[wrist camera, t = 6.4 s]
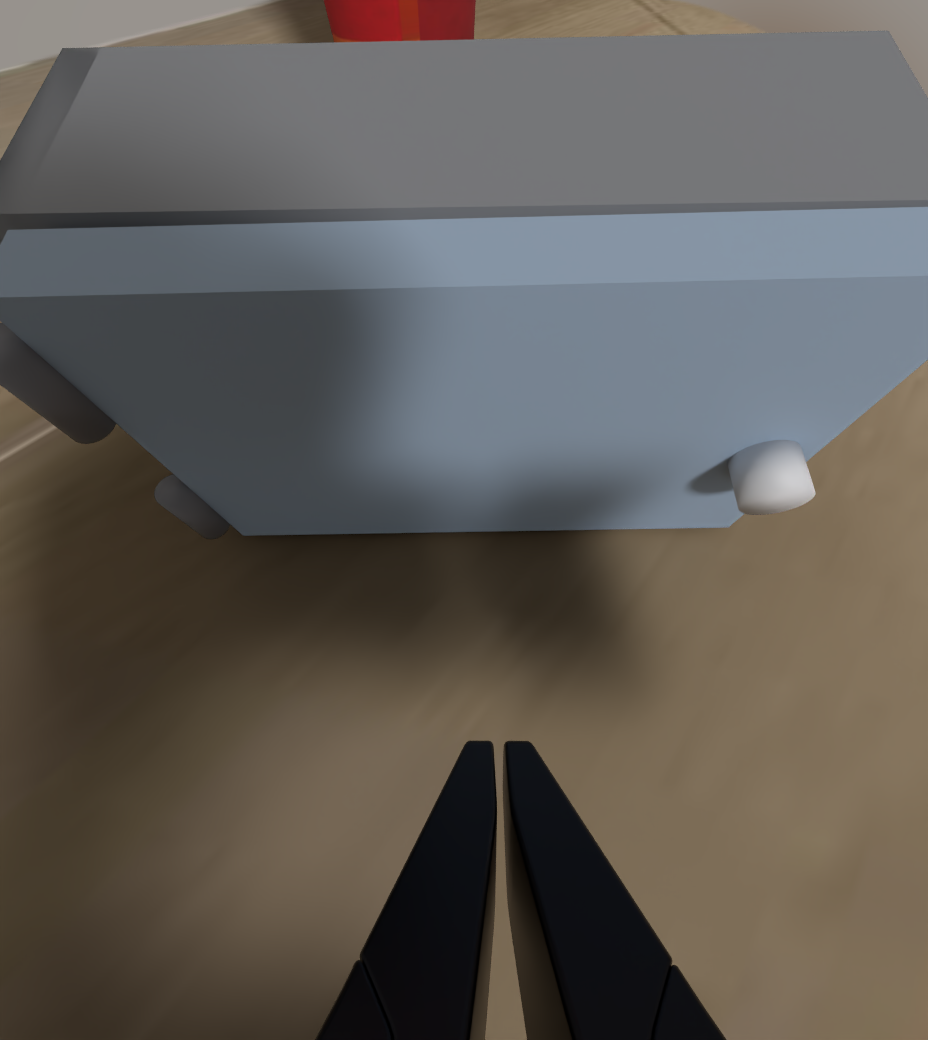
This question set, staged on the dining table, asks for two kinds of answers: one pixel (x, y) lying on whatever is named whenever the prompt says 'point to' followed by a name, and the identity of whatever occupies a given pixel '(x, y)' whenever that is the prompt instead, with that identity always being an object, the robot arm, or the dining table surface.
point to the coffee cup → (400, 20)
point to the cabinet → (468, 130)
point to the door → (470, 362)
